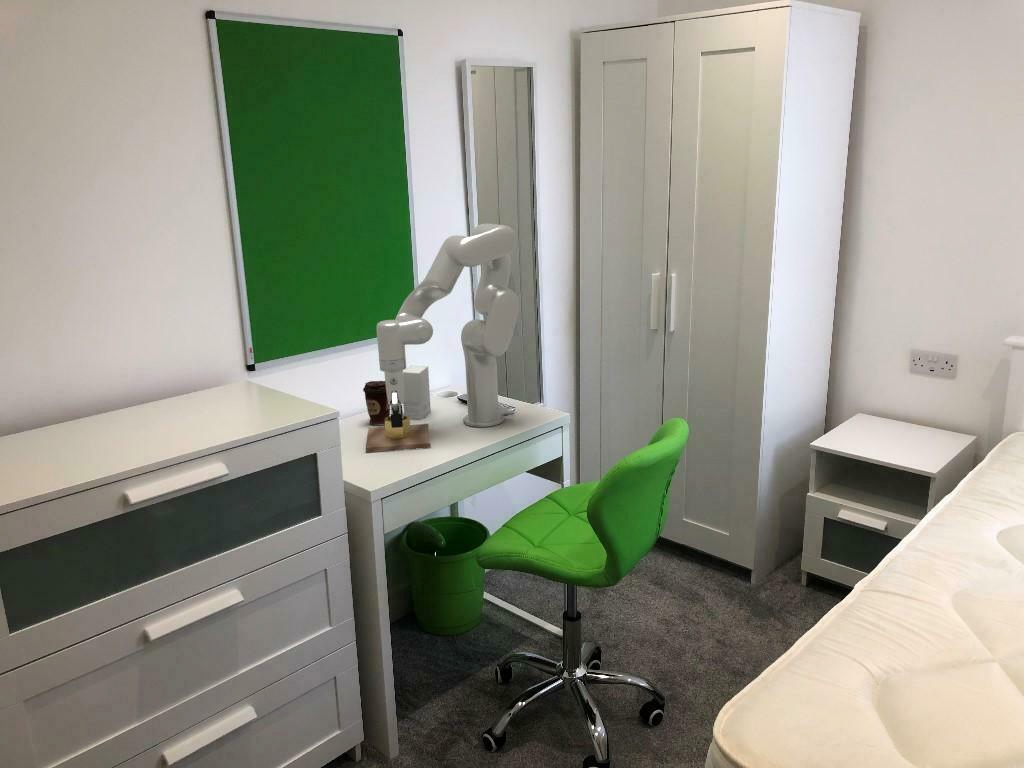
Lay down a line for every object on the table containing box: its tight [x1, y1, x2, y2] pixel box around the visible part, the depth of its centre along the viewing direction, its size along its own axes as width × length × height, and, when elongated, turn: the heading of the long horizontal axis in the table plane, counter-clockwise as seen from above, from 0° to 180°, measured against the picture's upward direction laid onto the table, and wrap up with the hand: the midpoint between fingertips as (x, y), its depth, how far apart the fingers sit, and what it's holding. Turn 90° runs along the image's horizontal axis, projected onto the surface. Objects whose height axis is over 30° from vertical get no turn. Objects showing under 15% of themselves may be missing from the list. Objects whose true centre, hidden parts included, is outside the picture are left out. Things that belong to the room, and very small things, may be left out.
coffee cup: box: [362, 380, 391, 426], centre depth 257 cm, size 9×8×13 cm
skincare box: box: [402, 364, 432, 420], centre depth 263 cm, size 8×7×16 cm
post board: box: [365, 413, 431, 454], centre depth 241 cm, size 18×18×8 cm
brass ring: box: [384, 414, 411, 439], centre depth 241 cm, size 7×7×5 cm
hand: (397, 422), depth 241 cm, fingers open, 8 cm apart
